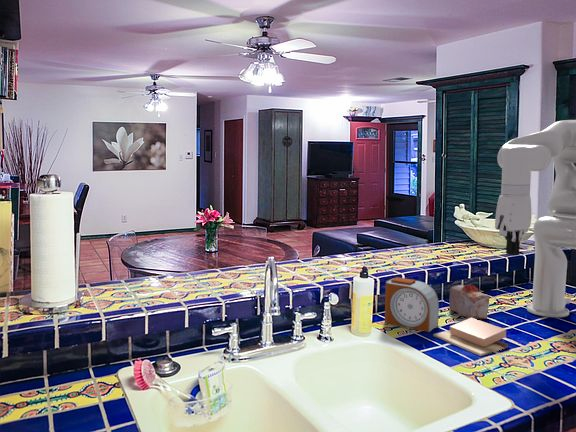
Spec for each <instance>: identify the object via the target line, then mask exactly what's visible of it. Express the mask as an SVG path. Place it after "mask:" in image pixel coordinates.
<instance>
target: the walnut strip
mask: <svg viewBox="0 0 576 432" xmlns="http://www.w3.org/2000/svg"><path fill="white" fill-rule="evenodd" d="M494 343H495V344H497V345H500V346H502V347H504V349H503V350H506V348H507V349H508V346H509V344H508V343H506V342H503V341H501V340H498V341H496V342H494Z"/></svg>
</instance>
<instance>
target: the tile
mask: <svg viewBox="0 0 576 432" xmlns="http://www.w3.org/2000/svg"><path fill="white" fill-rule="evenodd" d="M449 330H450V334H452V335H455V336H457V337H460V338H462V339H465V340H468V341H470V342H473V343H475V344H478V345H480V346H483V347H485V346H487V345H489V344H492V343H494V342H496V341H501V340H503V339H504V338H507V329H506V328H504V327H500V326H496V325H494V324H493V323H492V324H491V323H488V322H485V321H482V320H481V319H480V320H477V319H474V318H467V319H464V320H462V321H460V322H457V323H455V324H452V325H450V326H449Z"/></svg>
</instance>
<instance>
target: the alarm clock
mask: <svg viewBox="0 0 576 432" xmlns="http://www.w3.org/2000/svg"><path fill="white" fill-rule="evenodd" d="M384 301H385V304H384V322H385V323H386V324H389V325H393V326H398V327H402V328H408V329H413V330H418V331H421V332H427V333H430V332H432V330H434V328H436V327H437V326H438V325H439V314H440V313H439V312H440V311H439V309H440V304H439V303H440V302H439V301H440V300H439V298H438V294H437V293H436V291H435V289H434V288H432V286H430V285H429V284H427V283H426V282H423V281H421V280H416V279H412V278H406V277H405V278H404V277H398V276H396V277H394V278H391V279H388V280H387V281H386V282H385V300H384Z"/></svg>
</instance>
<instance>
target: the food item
mask: <svg viewBox="0 0 576 432" xmlns="http://www.w3.org/2000/svg"><path fill="white" fill-rule="evenodd" d="M448 299H449V302H448V304H449V305H448V308H449V311H453V312H455V313H457V314H458V316H459V317H460V316H461V317H464V318H467V319H469V318H474V319H480V320H486V319H488V311H489V308H490V306H489V305H490V295H488V294H485V293H482V292H480V291H479V288H478V287H476V285H470V284H467V285H461V284H458V285H453V286H451V287H449V298H448Z"/></svg>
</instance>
